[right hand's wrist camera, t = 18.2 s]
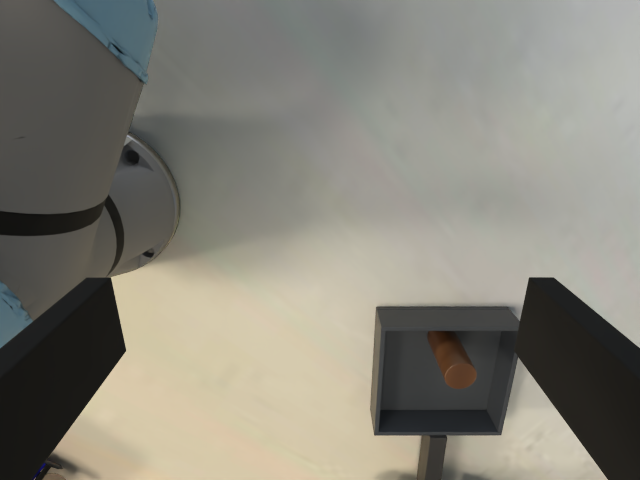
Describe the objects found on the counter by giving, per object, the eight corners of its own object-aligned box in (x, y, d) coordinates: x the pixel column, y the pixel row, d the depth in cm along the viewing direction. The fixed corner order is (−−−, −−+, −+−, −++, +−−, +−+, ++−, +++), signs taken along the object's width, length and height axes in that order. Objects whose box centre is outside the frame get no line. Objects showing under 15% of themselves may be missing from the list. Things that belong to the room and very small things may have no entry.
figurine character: (86, 454, 55) (-29, 410, 50) (58, 511, 49) (-77, 466, 44) (64, 481, 57) (-49, 441, 52) (34, 539, 50) (-98, 500, 45)
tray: (472, 486, 56) (485, 519, 52) (365, 487, 56) (369, 519, 52) (507, 306, 46) (526, 329, 41) (376, 306, 46) (381, 329, 41)
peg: (426, 347, 47) (443, 389, 40) (427, 323, 46) (446, 363, 39) (453, 346, 47) (475, 388, 40) (456, 323, 46) (478, 362, 39)
